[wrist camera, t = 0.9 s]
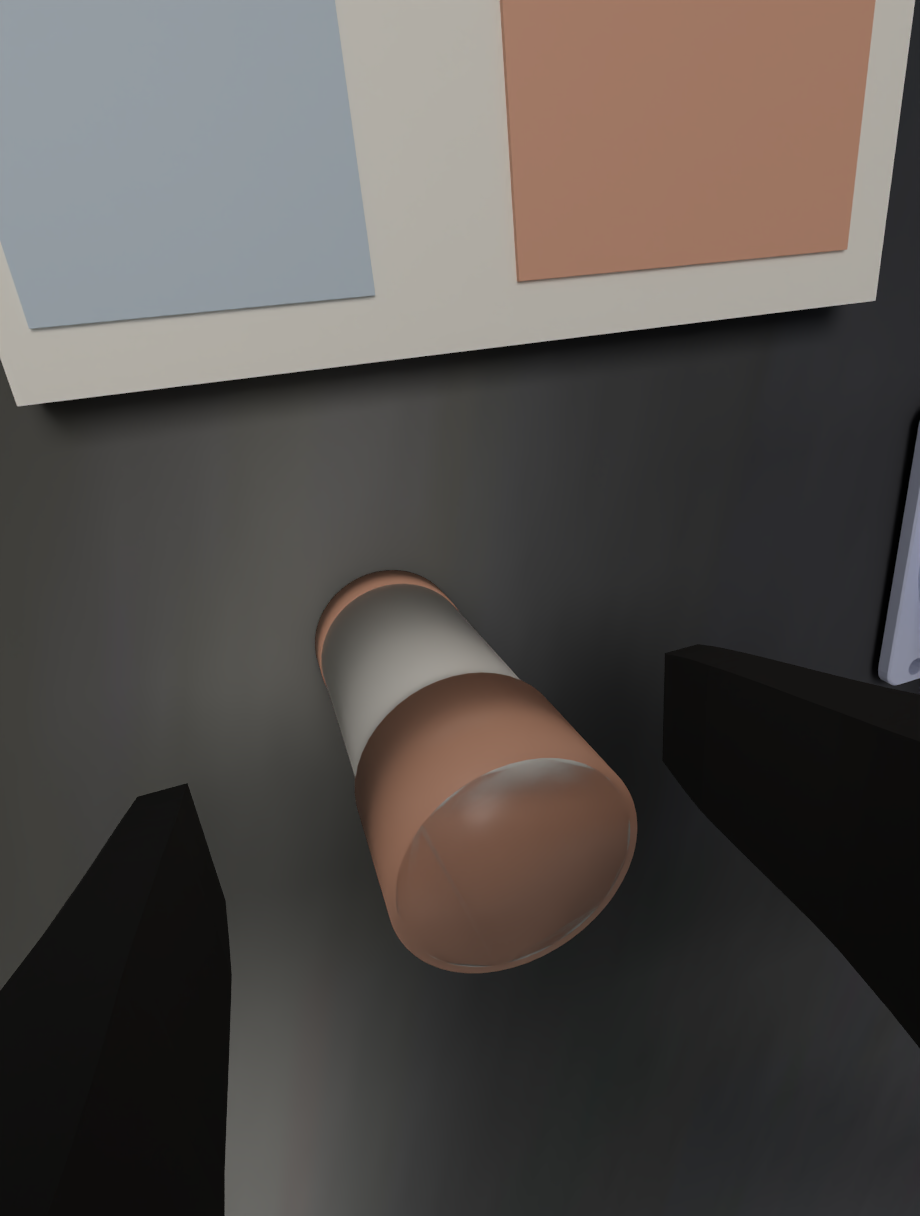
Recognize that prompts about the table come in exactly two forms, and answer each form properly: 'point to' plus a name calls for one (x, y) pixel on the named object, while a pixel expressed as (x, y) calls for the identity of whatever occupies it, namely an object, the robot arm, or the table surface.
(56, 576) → the table surface
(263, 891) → the table surface
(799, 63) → the board
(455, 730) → the orange and grey cylinder
